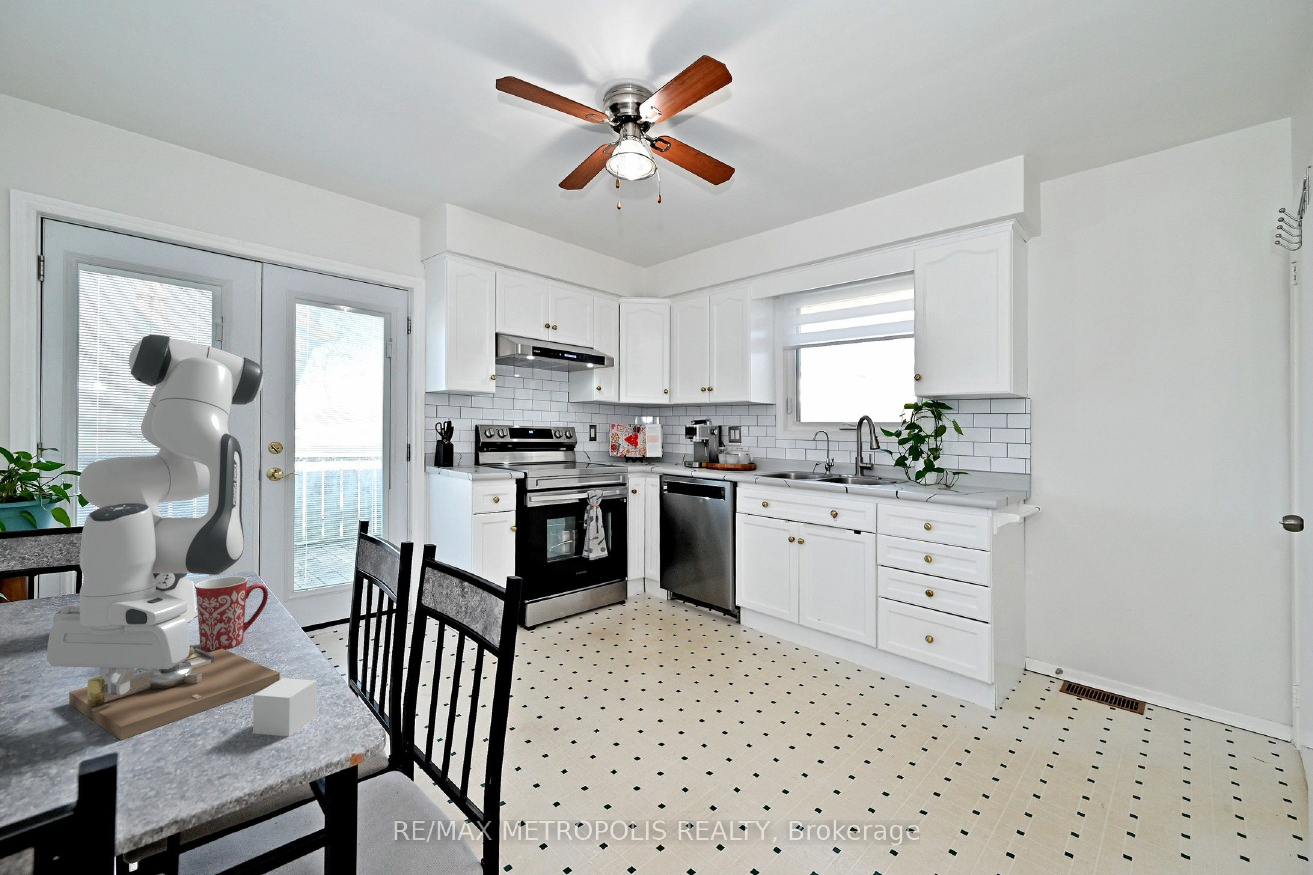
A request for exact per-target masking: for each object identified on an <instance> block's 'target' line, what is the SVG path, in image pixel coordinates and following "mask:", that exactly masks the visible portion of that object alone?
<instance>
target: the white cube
mask: <svg viewBox="0 0 1313 875" xmlns="http://www.w3.org/2000/svg"><path fill="white" fill-rule="evenodd" d="M252 700H253V705H252V706H253V708H252V709H253V710H252V711H253V712H252V714H253V717H252V721H253V722H252V734H257V735H269V736H280V737H291V736H292V735H293V734H295V733H296V732H297V731H299V730H301V729H302V728H304V727H305V726H306V725H307V724H309V723H310V722H311V721H313V720H314V719H315V718H317V717H318V680H314V679H301V678H288V677H287V678H285V677H284V678H283V677H282V678H280V680H279V681H277V682H275V683H274V684H272V685H270V686H268V687H267V688H265V689H263V690H261V691H258V692H255V693H253V698H252Z"/></svg>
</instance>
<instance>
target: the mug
mask: <svg viewBox="0 0 1313 875" xmlns="http://www.w3.org/2000/svg"><path fill="white" fill-rule="evenodd" d="M248 582H249V578H248V577H247V576H246V577H245V576H241V575H239V576H238V575H237V576H235V575H234V576H232V575H231V576H223V577H215V578H210V579H206V580H203V581H202V580H201V581H199V582H197V583H194V590H195V597H196V608H197V610H198V616H197V622H198V623H197V624H198V635H199V649H200V650H202V651H205V652H212V651H216V650H220V649H224V650H228V649H231V648H235V647H237V646H238V645H241V644H242V643H243V642H244V637H245V636H244V635H245V634H244V633H245V632H246V631H247V630H248V629H249V628H250V627H251V626H252V625H253V624H254V622H255V621H256V620H257V619H258V617H260V615H261V613H262V612H263V610H264V608H265V607H266V604H267V602H268V598H269V590H268V589H267V587H266V586H265V585H263V584H261V583H254V584H251V585H248V586H247V584H248ZM257 589H261V591H262V599H261V603H260V604H259V606H258V608H257V609H256V611H255V612H254V613H253V615H252V616H251V617H249V619H248V620H247V621H246V622H245V617H246V616H245V614H246V603H247V602H246V600H247V599H248V598H249V596H250V594H251V593H252V591H254V590H257Z"/></svg>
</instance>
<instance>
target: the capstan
mask: <svg viewBox="0 0 1313 875" xmlns="http://www.w3.org/2000/svg"><path fill="white" fill-rule="evenodd" d="M200 680H202V673H192V665H191V664H188V663H180V664H178V665H176V666H174V667H172V668H169V669H153V670H152V669H144V670H140V671H138V672H137V671H136V672H135V674H134V675H133V677H132V678H131V680H130V689H129V691H128V692H126V693H124V694H122V695H116V694H113V695H112V694H108V684H107V683H106V682H105V680H104V679H103V677H102V676H101V675H100V676H96V677H92V678H90V679H88V680H87V687H88V706H95V705H99V704H102V703H104V702H106V701H110V700H113V699H116V698H119V697H123V696H126V695H129V694H132V693H136V692H139V691H142V690H145V689H149V688H166V687H171V686H175V685H178V684H181V683H183V682H198V681H200Z"/></svg>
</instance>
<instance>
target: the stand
mask: <svg viewBox="0 0 1313 875" xmlns="http://www.w3.org/2000/svg"><path fill="white" fill-rule="evenodd" d="M182 663H188V664H191V665H192V673H202V680H200V681H198V682H183V683H181V684H178V685H175V686H171V687H166V688H149V689H145V690H142V691H139V692H136V693H132V694H129V695H126V696H123V697H119V698H116V699H113V700H110V701H106V702H104V703H102V704H99V705H95V706H88V686H85V687H82V688H79V689H74V690H70V691H69V693H68V696H69V697H68V700H69V701H68V705H70V706H71V707H73V709H76V710H77V711H79V712H80V713H81V714H83V715H84V716H86V717H87V718H89V719H90V720H91V721H92V722H94V723H96V725H99V726H100V727H101V728H103V729H104V730H105V731H107V732H108V733H110V734H111V735H112V736H113V737H115V736H116V737H115V738H117V739H118V740H119V739H120V741H123V740H126V739H128V738H131V737H134V736H137V735H140V734H143V733H145V732H149V731H151V730H154V729H157V728H159V727H163V726H165V725H167V724H171V723H173V722H177V721H179V720H182V719H185V718H187V717H191V716H193V715H194V716H195V715H196V714H200V713H201V712H205V711H207V710H210V709H213V708H216V707H219V706H221V705H224V704H227V703H230V702H232V701H233V702H234V701H235V700H238V699H242V698H243V697H247V696H250V695H252V694H253V695H254V694H256V693H258V692H260V691H261V690H263V689H265V688H267V687H268V686H270V685H272V684H274V683H275V682H277V681H279V680H281V675H280V674H281V673H280V672H278V671H276V670H274V669H271V668H269V667H267V666H264V665H262V664H260V663H258V662H255V661H253V660H250V659H247V658H245V657H243V656H241V655H239V654H236V653H233V652H231V651H229V650H228V649H220V650H216V651H203V650H201V648H194V647H190V650H189V655H188V657H187V658H186V659H185V661H184V662H182ZM152 670H153V669H152Z"/></svg>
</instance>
